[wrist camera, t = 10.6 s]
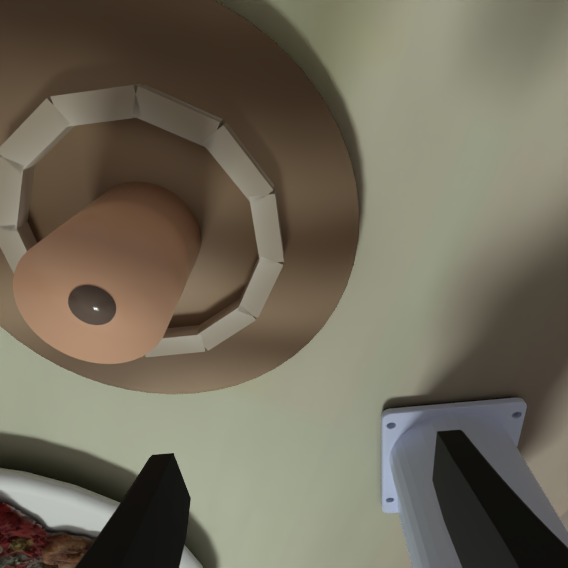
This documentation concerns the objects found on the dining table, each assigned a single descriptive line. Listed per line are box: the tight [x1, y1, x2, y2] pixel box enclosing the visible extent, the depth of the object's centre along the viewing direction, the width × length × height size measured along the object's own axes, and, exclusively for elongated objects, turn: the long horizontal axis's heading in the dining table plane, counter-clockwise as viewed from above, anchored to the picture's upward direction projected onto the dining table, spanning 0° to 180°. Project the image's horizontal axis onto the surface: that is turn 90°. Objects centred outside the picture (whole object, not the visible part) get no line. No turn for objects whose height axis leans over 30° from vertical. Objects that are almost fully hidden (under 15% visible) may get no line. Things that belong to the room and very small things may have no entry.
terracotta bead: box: [13, 182, 201, 364], centre depth 15 cm, size 5×5×6 cm
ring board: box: [0, 0, 359, 394], centre depth 17 cm, size 18×18×2 cm
